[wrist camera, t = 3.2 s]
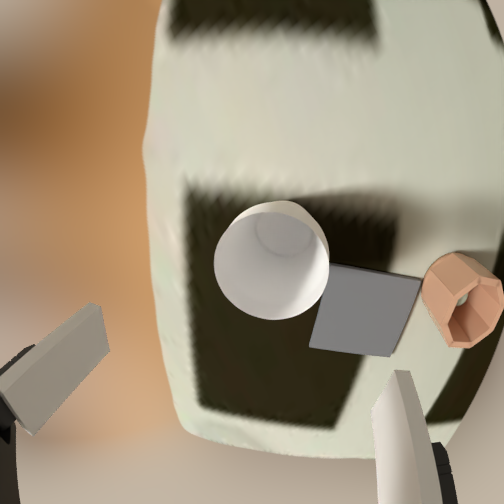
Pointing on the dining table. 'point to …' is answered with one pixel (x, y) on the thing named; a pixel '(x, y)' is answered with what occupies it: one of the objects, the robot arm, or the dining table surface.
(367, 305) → the mat
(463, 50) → the dining table surface
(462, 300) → the ball
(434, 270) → the pot
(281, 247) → the cup
